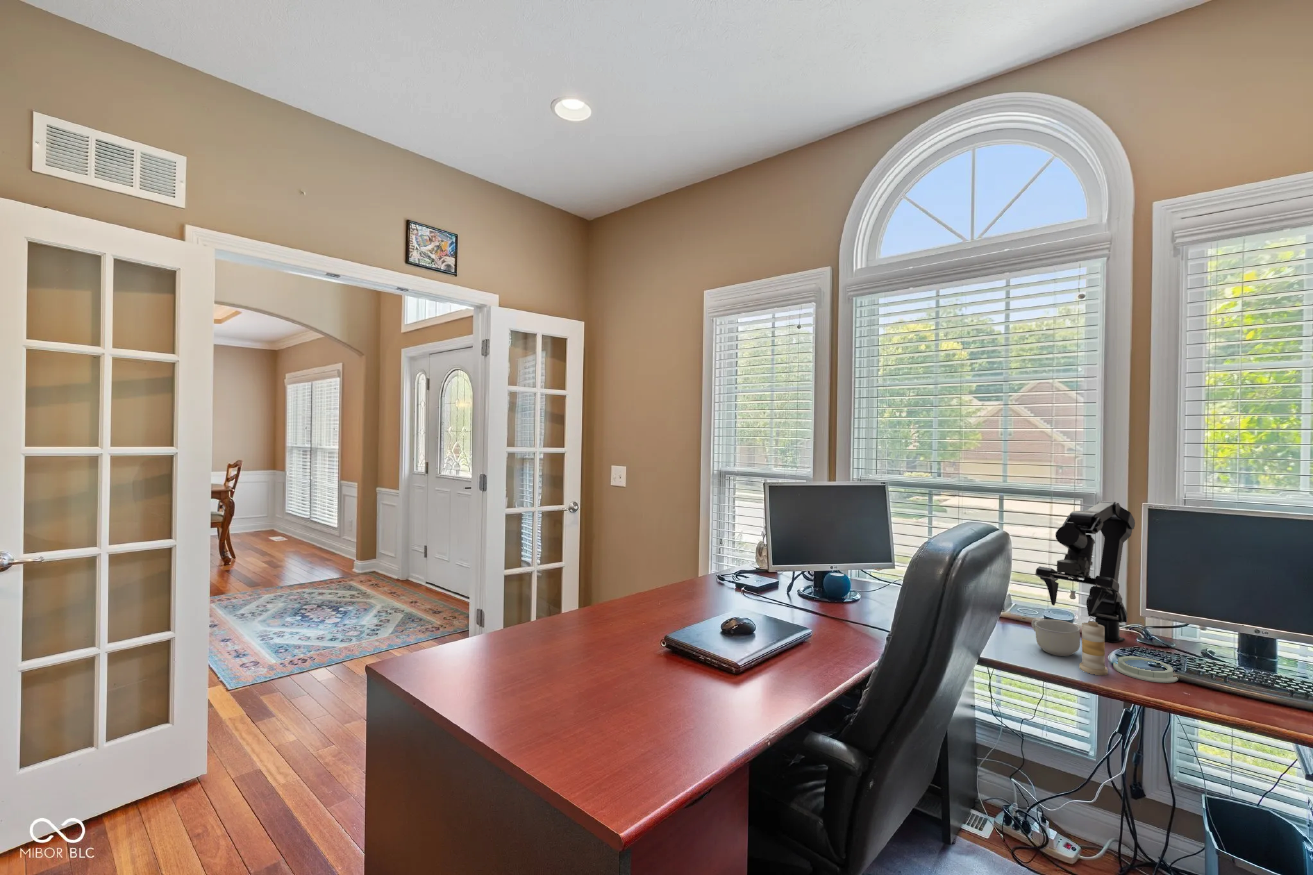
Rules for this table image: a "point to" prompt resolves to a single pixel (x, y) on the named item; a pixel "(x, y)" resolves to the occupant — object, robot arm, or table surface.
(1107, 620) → the robot arm
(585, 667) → the table surface
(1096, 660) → the bead column
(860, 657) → the table surface
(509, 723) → the table surface
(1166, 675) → the ring dish
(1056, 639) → the teacup
